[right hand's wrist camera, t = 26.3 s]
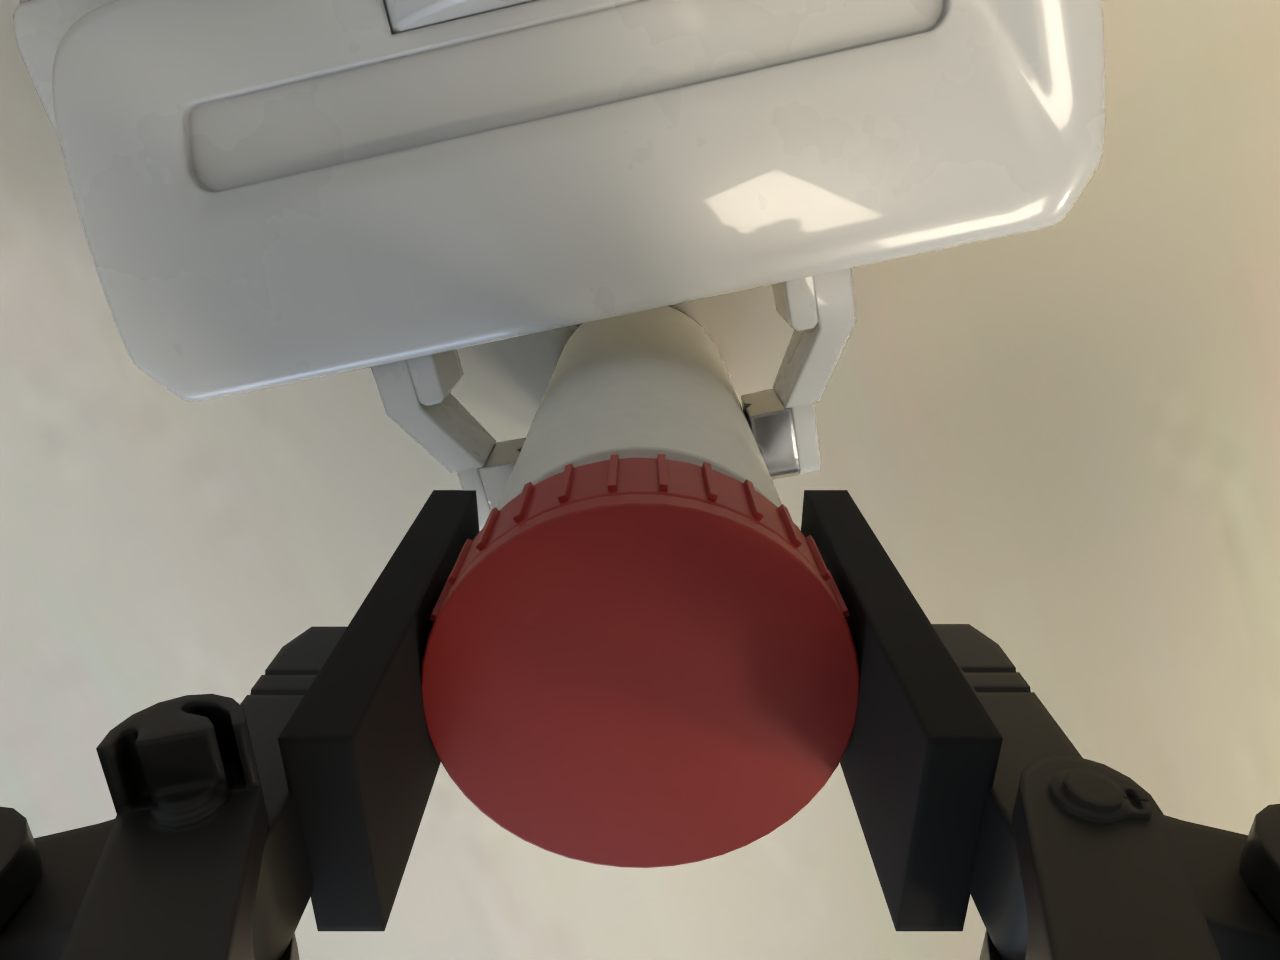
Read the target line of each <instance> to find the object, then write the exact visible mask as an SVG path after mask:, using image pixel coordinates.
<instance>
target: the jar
mask: <svg viewBox="0 0 1280 960" xmlns="http://www.w3.org/2000/svg"><path fill="white" fill-rule="evenodd" d="M614 454H618V456H619V459H624V458H657V455H658V454H665V457H666V459H668V460H674V461H681V462H687V463H691V464H695V465H698V466H702V465H703V463H704V462H706V463H709V464H711V467H712V470H715V471H718V472H720V473H722V474H725V475H727V476H729V477H732V478H734V479H736V480H739V481H740V482H742V483H744V482H745V480H746V479H747V480H749V481H751V482H752V483H753V486H754V489H755V491H757V492H759V493H761V494H762V495H763V496H764V497H766V498H767V499H768V500H770V501H771V502H772V503H773V504H775V505H776V506H777V507H780V506H781V505H782V503H781V501H780V498H779V496H778V494H777V491H776V489H775V486H774V484H773V482H772V479H771V477H770V474H769V472H768V470H767V467H766V465H765V462H764V460H763V457H762V455H761V453H760V450H759V448H758V445H757V443H756V441H755V438H754V436H753V433H752V431H751V429H750V426H749V424H748V421H747V419H746V417H745V414H744V412H743V409H742V407H741V404H740V402H739V400H738V397H737V395H736V392H735V390H734V388H733V385H732V383H731V380H730V378H729V376H728V373H727V371H726V368H725V366H724V364H723V361H722V359H721V356H720V354H719V352H718V350H717V348H716V346H715V344H714V342H713V341H712V339H711V338H710V336H709V335H708V334H707V333H706V332H705V330H704V329H703V328H702V327H701V326H700V325H699V324H698V323H696V322H695V321H694V320H693V319H692V318H690V317H689V316H687V315H685V314H684V313H682V312H680V311H678V310H676V309H674V308H671V307H668V306H664V307H660V308H655V309H650V310H645V311H640V312H635V313H630V314H626V315H621V316H616V317H611V318H606V319H601V320H596V321H592V322H587V323H583V324H582V325H581V326H580V327H578V328H577V329H576V331H575V332H574V333H573V334H572V336H571V337H570V338H569V340H568V341H567V343H566V345H565V346H564V348H563V351H562V353H561V355H560V357H559V360H558V362H557V365H556V367H555V370H554V372H553V374H552V377H551V379H550V382H549V384H548V387H547V389H546V391H545V394H544V396H543V399H542V401H541V403H540V406H539V408H538V411H537V413H536V416H535V418H534V420H533V423H532V425H531V428H530V430H529V433H528V435H527V437H526V440H525V442H524V445H523V447H522V449H521V452H520V454H519V457H518V459H517V462H516V464H515V466H514V469H513V471H512V474H511V476H510V478H509V481H508V483H507V486H506V488H505V491H504V493H503V495H502V498H501V500H500V503H499V505H498V508H497V509H498V510H500V509H502V508H503V507H504V506H505V505H506V504H507V503H508V502H509V501H511V500H512V499H514V498H515V497H517V496H518V495H519V494H521V493H522V490H523V488H524V485H525V484H527V483H528V482H531V483H532V484H533V485H535V484H537V483H539V482H541V481H543V480H545V479H547V478H549V477H551V476H553V475H555V474H558V473H561V472H564V469H565V466H566V465H569V464H573V466H574V468H575V467H578V466H582V465H586V464H591V463H595V462H600V461H604V460H610V456H611V455H614Z"/></svg>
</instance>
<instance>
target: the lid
mask: <svg viewBox="0 0 1280 960" xmlns="http://www.w3.org/2000/svg"><path fill="white" fill-rule="evenodd" d="M849 616H850V614H849V611H848V609H847V607H846V605H845V602H844V600H843V598H842V596H841V594H840V592H839V590H838V587H837V585H836V583H835V581H834V579H833V577H832V574H831V572H830V570H827V567H826V565H825V563H824V561H823V559H822V556H821V554H820V552H819V550H818V548H817V546H816V543H815V541H814V539H813V538H812V536H811V535H809V536H808V537H806V538H805V537H804V535H803V534H802V532H801V531H800V530H799V528H798V527H797V526H796V525H795V524H794V523H793V521H792V519H791V516H790V514H789V512H788V509H787V508H786V507H785V506H784V505H783V504H782V505H781V506H780V507H777V506H776V505H775V504H773V503H772V502H771V501H770V500H768V499H767V498H766V497H764V496H763V495H762V494H761V493H759V492H757V491H755V489H754V486H753V483H752V482H751V481H749V480H747V479H746V480H745V482H744V483H742V482H740V481H739V480H736V479H734V478H732V477H729V476H727V475H725V474H722V473H720V472H718V471H715V470H712V467H711V464H709V463H706V462H704V463H703V465H702V466H698V465H695V464H691V463H687V462H681V461H674V460H668V459H666V457H665V454H658V455H657V458H624V459H619V456H618V454H614V455H611V456H610V460H604V461H600V462H595V463H591V464H586V465H582V466H578V467H575V468H574V466H573V464H569V465H566V466H565V469H564V472H561V473H558V474H555V475H553V476H551V477H549V478H547V479H545V480H543V481H541V482H539V483H537V484H535V485H533V484H532V483H531V482H528V483H527V484H525V485H524V488H523V490H522V493H521V494H519V495H518V496H517V497H515V498H514V499H512V500H511V501H509V502H508V503H507V504H506V505H505V506H504V507H503V508H502V509H500V510H498V509H497V508H496V507H494V508H493V509H492V510H491V511H490V514H489V516H488V518H487V521H486V523H485V525H484V527H483V528H482V530H481V531H480V532H479V533H478V534H477V536H476V537H475V538H474V540H473V541H472V540H470V539H467V540H466V542H465V544H464V546H463V548H462V550H461V552H460V554H459V557H458V559H457V561H456V563H455V565H454V567H453V570H452V572H451V574H450V575H449V577H448V579H447V581H446V583H445V586H444V588H443V590H442V592H441V594H440V596H439V599H438V601H437V603H436V605H435V607H434V609H433V612H432V614H431V616H430V621H434V624H433V626H432V629H431V631H430V634H429V636H428V639H427V644H426V648H425V652H424V656H423V660H422V672H421V689H422V698H423V706H424V714H425V721H426V726H427V730H428V734H429V736H430V739H431V741H432V743H433V746H434V748H435V751H436V753H437V756H438V757H439V759H440V761H441V762H442V764H443V766H444V767H445V769H446V771H447V772H448V774H449V776H450V777H451V778H452V780H453V781H454V782H455V784H456V785H457V786H458V787H459V789H460V790H461V791H462V792H463V794H464V795H465V796H466V797H467V798H468V799H469V800H470V801H471V802H472V803H473V804H474V805H475V806H476V807H477V808H478V809H479V810H480V811H482V812H483V813H484V814H485V815H487V816H488V817H489V818H491V819H492V820H493V821H494V822H496V823H497V824H498V825H500V826H501V827H503V828H504V829H506V830H508V831H509V832H511V833H513V834H514V835H516V836H518V837H519V838H521V839H523V840H525V841H527V842H529V843H531V844H533V845H536V846H538V847H540V848H542V849H544V850H547V851H550V852H553V853H556V854H559V855H562V856H565V857H568V858H571V859H575V860H580V861H584V862H589V863H593V864H599V865H608V866H616V867H635V868H651V867H664V866H675V865H681V864H686V863H692V862H698V861H702V860H705V859H709V858H712V857H716V856H719V855H723V854H726V853H728V852H731V851H733V850H736V849H738V848H741V847H743V846H746V845H748V844H750V843H752V842H754V841H755V840H757V839H759V838H761V837H763V836H765V835H767V834H769V833H770V832H772V831H773V830H775V829H776V828H778V827H779V826H781V825H782V824H784V823H785V822H787V821H788V820H789V819H791V818H792V817H793V816H794V815H795V814H796V813H798V812H799V811H800V810H801V809H802V808H803V807H804V806H806V805H807V804H808V803H809V802H810V801H811V800H812V798H813V797H814V796H815V795H816V794H817V793H818V792H819V791H820V790H821V788H822V787H823V786H824V785H825V784H826V782H827V781H828V779H829V778H830V776H831V775H832V773H833V772H834V770H835V769H836V768H837V766H838V764H839V762H840V760H841V758H842V756H843V754H844V752H845V750H846V748H847V746H848V744H849V741H850V738H851V735H852V732H853V728H854V725H855V718H856V710H857V703H858V694H859V684H860V671H859V664H858V658H857V652H856V647H855V644H854V641H853V638H852V635H851V632H850V629H849V626H848V623H847V621H846V619H845V618H846V617H849Z"/></svg>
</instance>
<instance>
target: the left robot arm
mask: <svg viewBox="0 0 1280 960" xmlns="http://www.w3.org/2000/svg"><path fill="white" fill-rule="evenodd" d="M13 24H14V31H15V36H16V40H17V44H18V47H19V51H20V54H21V56H22V58H23V60H24V63H25V65H26V67H27V70H28V72H29V74H30V77H31V79H32V81H33V83H34V86H35V88H36V90H37V93H38V95H39V97H40V99H41V102H42V104H43V106H44V109H45V111H46V113H47V116H48V118H49V120H50V122H51V123H52V125H53V127H54V129H55V130H56V131H57V133H58V135H59V140H60V144H61V149H62V153H63V157H64V161H65V165H66V169H67V172H68V176H69V180H70V184H71V188H72V192H73V195H74V199H75V202H76V206H77V209H78V213H79V216H80V220H81V223H82V227H83V230H84V233H85V236H86V239H87V242H88V246H89V249H90V252H91V255H92V258H93V261H94V264H95V267H96V270H97V273H98V276H99V279H100V282H101V285H102V288H103V291H104V293H105V296H106V299H107V302H108V305H109V308H110V310H111V313H112V316H113V318H114V321H115V324H116V326H117V329H118V331H119V334H120V336H121V339H122V341H123V343H124V345H125V347H126V350H127V352H128V354H129V356H130V358H131V359H132V361H133V362H134V364H135V365H136V366H137V367H138V368H139V369H140V370H141V371H142V372H144V373H145V374H147V375H148V376H149V377H151V378H152V379H153V380H155V381H156V382H158V383H159V384H160V385H162V386H163V387H164V388H166V389H167V390H169V391H170V392H172V393H173V394H174V395H176V396H178V397H179V398H181V399H182V400H185V401H188V402H201V401H207V400H212V399H217V398H222V397H227V396H232V395H236V394H241V393H246V392H251V391H256V390H261V389H266V388H270V387H275V386H280V385H285V384H290V383H295V382H300V381H304V380H309V379H314V378H319V377H324V376H329V375H334V374H339V373H343V372H348V371H353V370H358V369H363V368H368V367H371V368H372V371H373V374H374V377H375V380H376V383H377V386H378V389H379V392H380V395H381V398H382V401H383V404H384V407H385V410H386V413H387V415H388V416H389V417H390V418H391V419H392V420H393V421H395V422H396V423H397V424H398V425H399V426H400V427H401V428H402V429H403V430H405V431H406V432H407V433H408V434H409V435H410V436H411V437H412V438H413V439H414V440H416V441H417V442H418V443H419V444H420V445H421V446H422V447H423V448H424V449H425V450H427V451H428V452H429V453H430V454H431V455H432V456H433V457H434V458H435V459H437V460H438V461H439V462H440V463H441V464H442V465H443V466H444V467H445V468H446V469H448V470H449V471H450V472H451V473H457V474H458V477H459V480H460V484H461V487H462V490H476V495H477V507H478V519H479V531H481V530H482V528H483V527H484V525H485V523H486V521H487V518H488V516H489V514H490V511H491V510H492V509H493V508H494V507H496V508H498V505H499V503H500V500H501V498H502V495H503V493H504V491H505V488H506V486H507V483H508V481H509V478H510V476H511V474H512V471H513V469H514V466H515V464H516V462H517V459H518V457H519V454H520V452H521V449H522V447H523V445H524V442H525V440H526V438H521V439H516V440H510V441H504V442H498V443H496V441H495V439H494V438H493V437H492V436H491V435H490V434H489V433H488V432H487V431H486V430H485V429H484V428H483V427H482V426H481V425H480V424H479V423H478V422H477V421H476V419H475V418H474V417H473V416H472V415H471V414H470V413H469V412H468V411H467V410H466V409H465V408H464V407H463V406H462V405H461V404H460V403H459V402H458V401H457V399H456V398H455V397H454V396H453V395H452V394H451V393H450V391H451V390H452V389H453V388H454V386H455V385H456V384H457V383H458V382H459V380H460V379H461V378H462V376H463V375H464V373H463V370H462V366H461V363H460V359H459V355H458V352H457V349H460V348H465V347H470V346H475V345H480V344H484V343H489V342H494V341H499V340H504V339H509V338H514V337H519V336H523V335H528V334H533V333H538V332H543V331H548V330H553V329H557V328H562V327H567V326H572V325H577V324H582V323H587V322H592V321H596V320H601V319H606V318H611V317H616V316H621V315H626V314H630V313H635V312H640V311H645V310H650V309H655V308H660V307H664V306H669V305H674V304H679V303H684V302H689V301H694V300H699V299H703V298H708V297H713V296H718V295H723V294H728V293H733V292H737V291H742V290H747V289H752V288H757V287H762V286H767V285H772V286H773V293H774V299H775V305H776V311H777V312H778V313H779V314H780V315H781V316H782V317H783V319H784V320H785V321H786V322H787V323H788V324H789V325H790V326H791V327H792V328H793V329H795V330H794V333H793V335H792V338H791V340H790V343H789V346H788V348H787V351H786V353H785V356H784V359H783V361H782V364H781V366H780V369H779V372H778V374H777V377H776V379H775V382H774V384H773V388H774V389H769V390H765V391H760V392H756V393H751V394H747V395H742V396H741V400H742V406H743V412H744V414H745V417H746V419H747V421H748V424H749V426H750V429H751V431H752V433H753V436H754V438H755V441H756V443H757V445H758V448H759V450H760V453H761V455H762V457H763V460H764V462H765V465H766V467H767V470H768V472H769V474H770V477H771V479H778V478H783V477H789V476H794V475H799V474H805V473H810V472H816V471H819V470H820V467H821V458H820V450H819V442H818V435H817V427H816V419H815V411H814V403H817V402H819V401H820V399H821V397H822V395H823V392H824V390H825V388H826V386H827V384H828V382H829V379H830V377H831V375H832V373H833V371H834V368H835V366H836V364H837V362H838V360H839V358H840V355H841V353H842V351H843V349H844V347H845V344H846V342H847V340H848V338H849V336H850V334H851V331H852V329H853V327H854V325H855V323H856V315H855V305H854V294H853V284H852V274H851V268H854V267H859V266H864V265H869V264H874V263H879V262H883V261H888V260H893V259H898V258H903V257H908V256H913V255H917V254H922V253H927V252H932V251H937V250H942V249H947V248H952V247H956V246H961V245H966V244H971V243H976V242H981V241H986V240H990V239H995V238H1000V237H1005V236H1010V235H1015V234H1020V233H1024V232H1029V231H1034V230H1039V229H1044V228H1048V227H1051V226H1054V225H1056V224H1058V223H1059V222H1061V221H1062V220H1063V219H1064V218H1065V217H1066V215H1067V214H1068V213H1069V211H1070V210H1071V209H1072V207H1073V206H1074V204H1075V203H1076V201H1077V200H1078V198H1079V197H1080V195H1081V194H1082V192H1083V190H1084V189H1085V187H1086V186H1087V184H1088V182H1089V181H1090V179H1091V178H1092V176H1093V174H1094V173H1095V171H1096V170H1097V168H1098V166H1099V163H1100V160H1101V157H1102V152H1103V145H1104V139H1105V119H1106V75H1105V40H1104V18H1103V4H1102V0H20V4H19V5H18V7H17V8H16V9H15V11H14V14H13Z"/></svg>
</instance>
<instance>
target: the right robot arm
mask: <svg viewBox="0 0 1280 960" xmlns="http://www.w3.org/2000/svg"><path fill="white" fill-rule="evenodd" d="M479 532H480V531H479V519H478V507H477V495H476V490H434V491H433V492H432V494H431V495H430V497H429V498H428V500H427V502H426V503H425V505H424V506H423V508H422V510H421V511H420V513H419V514H418V516H417V518H416V519H415V521H414V522H413V524H412V525H411V527H410V529H409V530H408V532H407V533H406V535H405V537H404V538H403V540H402V541H401V543H400V545H399V546H398V548H397V549H396V551H395V552H394V554H393V556H392V557H391V559H390V560H389V562H388V564H387V565H386V567H385V568H384V570H383V572H382V573H381V575H380V576H379V578H378V579H377V581H376V583H375V584H374V586H373V587H372V589H371V591H370V592H369V594H368V595H367V597H366V599H365V600H364V602H363V603H362V605H361V606H360V608H359V610H358V611H357V613H356V614H355V616H354V618H353V619H352V621H351V622H350V624H349V626H348V627H311V628H309V629H308V630H306V631H305V632H304V633H302V634H301V635H299V636H298V637H296V638H295V639H293V640H292V641H291V642H289V643H288V644H286V645H285V646H283V647H282V649H281V650H280V651H279V653H278V654H277V655H276V657H275V658H274V659H273V661H272V662H271V664H270V665H269V666H268V668H267V669H266V670H265V675H262V676H261V677H260V678H259V680H258V681H257V682H256V684H255V685H254V687H253V688H252V689H251V695H247V696H246V697H245V699H244V700H243V701H242V703H241V704H240V705H239V704H238V703H237V702H236V701H235V700H234V699H232V698H229V697H224V696H219V695H215V694H202V695H187V696H183V697H179V698H175V699H171V700H167V701H164V702H160V703H157V704H155V705H153V706H151V707H149V708H146V709H144V710H142V711H140V712H138V713H135V714H133V715H131V716H130V717H129V718H127V719H126V720H125V721H123V722H122V723H120V724H119V725H118V726H116V727H115V728H113V729H112V730H111V731H110V732H109V733H108V734H107V735H106V737H105V738H104V739H103V741H102V742H101V743H100V744H99V746H98V747H97V748H96V749H97V753H98V756H99V759H100V762H101V765H102V768H103V772H104V775H105V778H106V781H107V784H108V787H109V790H110V794H111V797H112V800H113V803H114V806H115V809H116V813H117V816H116V819H113V820H110V821H106V822H103V823H100V824H95V825H91V826H87V827H82V828H78V829H74V830H69V831H65V832H61V833H56V834H52V835H47V836H43V837H39V838H34V839H33V836H32V833H31V831H30V828H29V825H28V823H27V820H26V818H25V817H24V816H22V815H21V814H20V813H18V812H17V811H16V810H15V809H13V808H6V807H0V960H299V954H298V947H297V942H296V938H295V933H294V932H295V930H296V928H297V925H298V923H299V921H300V919H301V916H302V914H303V912H304V910H305V908H306V905H307V903H308V901H309V899H310V896H311V900H312V905H313V910H314V914H315V919H316V924H317V929H318V931H385V928H386V925H387V922H388V919H389V916H390V913H391V910H392V907H393V904H394V901H395V898H396V895H397V892H398V889H399V886H400V883H401V880H402V877H403V874H404V870H405V867H406V864H407V861H408V858H409V855H410V852H411V849H412V846H413V843H414V840H415V837H416V834H417V831H418V828H419V825H420V822H421V819H422V816H423V813H424V810H425V807H426V804H427V801H428V798H429V795H430V792H431V789H432V786H433V783H434V780H435V777H436V774H437V771H438V768H439V765H440V762H441V761H440V759H439V757H438V756H437V753H436V751H435V748H434V746H433V743H432V741H431V739H430V736H429V734H428V730H427V726H426V721H425V714H424V706H423V698H422V689H421V672H422V660H423V656H424V652H425V648H426V644H427V639H428V636H429V634H430V631H431V629H432V626H433V624H434V621H430V616H431V614H432V612H433V609H434V607H435V605H436V603H437V601H438V599H439V596H440V594H441V592H442V590H443V588H444V586H445V583H446V581H447V579H448V577H449V575H450V574H451V572H452V570H453V567H454V565H455V563H456V561H457V559H458V557H459V554H460V552H461V550H462V548H463V546H464V544H465V542H466V540H467V539H470V540H472V541H473V540H474V538H475V537H476V536H477V534H478V533H479ZM801 532H802V534H803V535H804V537H805V538H806V537H808V536H809V535H811V536H812V538H813V539H814V541H815V543H816V546H817V548H818V550H819V552H820V554H821V556H822V559H823V561H824V563H825V565H826V567H827V570H830V572H831V574H832V577H833V579H834V581H835V583H836V585H837V587H838V590H839V592H840V594H841V596H842V598H843V600H844V602H845V605H846V607H847V609H848V611H849V614H850V616H849V617H846V618H845V619H846V621H847V623H848V626H849V629H850V632H851V635H852V638H853V641H854V644H855V647H856V652H857V658H858V664H859V671H860V684H859V694H858V703H857V710H856V718H855V725H854V728H853V732H852V735H851V738H850V741H849V744H848V746H847V748H846V750H845V752H844V754H843V756H842V758H841V760H840V764H841V767H842V770H843V773H844V776H845V779H846V782H847V785H848V788H849V791H850V794H851V797H852V800H853V803H854V806H855V809H856V812H857V815H858V818H859V821H860V824H861V827H862V830H863V833H864V836H865V839H866V842H867V845H868V848H869V851H870V854H871V857H872V860H873V863H874V866H875V869H876V872H877V875H878V878H879V881H880V884H881V887H882V890H883V893H884V896H885V899H886V902H887V905H888V908H889V911H890V914H891V917H892V920H893V923H894V926H895V929H896V931H963V926H964V921H965V917H966V912H967V907H968V902H969V898H970V894H971V896H972V898H973V900H974V902H975V905H976V907H977V909H978V911H979V913H980V916H981V918H982V920H983V922H984V925H985V927H986V933H985V938H984V942H983V947H982V951H981V956H980V960H1280V804H1274V805H1268V806H1267V807H1266V808H1264V809H1263V810H1262V811H1260V812H1259V813H1258V814H1257V815H1256V816H1255V819H1254V822H1253V824H1252V827H1251V830H1250V833H1249V835H1243V834H1239V833H1235V832H1230V831H1226V830H1221V829H1217V828H1213V827H1208V826H1204V825H1199V824H1195V823H1191V822H1186V821H1182V820H1179V819H1175V818H1172V817H1169V816H1165V815H1163V813H1162V811H1161V810H1160V808H1159V807H1158V805H1157V804H1156V802H1155V801H1154V799H1153V798H1152V796H1151V795H1150V794H1149V793H1148V792H1146V791H1145V790H1144V789H1143V788H1141V787H1140V786H1139V785H1138V784H1137V783H1135V782H1134V781H1133V780H1132V779H1131V778H1129V777H1127V776H1125V775H1123V774H1121V773H1120V772H1118V771H1116V770H1114V769H1112V768H1110V767H1108V766H1106V765H1104V764H1101V763H1097V762H1094V761H1090V760H1087V759H1084V758H1082V756H1081V755H1080V754H1079V752H1078V751H1077V750H1076V748H1075V747H1074V746H1073V744H1072V743H1071V742H1070V740H1069V739H1068V738H1067V736H1066V735H1065V734H1064V732H1063V731H1062V730H1061V728H1060V727H1059V726H1058V724H1057V723H1056V721H1055V720H1054V719H1053V717H1052V716H1051V715H1050V713H1049V712H1048V711H1047V709H1046V708H1045V707H1044V705H1043V704H1042V703H1041V701H1040V700H1039V699H1038V697H1037V696H1036V695H1035V693H1034V692H1030V686H1029V685H1028V684H1027V682H1026V681H1025V680H1024V678H1023V677H1022V676H1021V674H1020V673H1016V668H1015V666H1014V665H1013V664H1012V662H1011V661H1010V660H1009V658H1008V657H1007V655H1006V654H1005V653H1004V651H1003V650H1002V649H1001V647H1000V646H999V645H998V644H997V643H995V642H994V641H993V640H991V639H990V638H988V637H987V636H985V635H984V634H982V633H981V632H979V631H978V630H977V629H975V628H974V627H972V626H971V625H969V624H931V623H930V622H929V620H928V618H927V617H926V615H925V614H924V612H923V610H922V609H921V607H920V606H919V604H918V603H917V601H916V599H915V598H914V596H913V595H912V593H911V591H910V590H909V588H908V587H907V585H906V583H905V582H904V580H903V579H902V577H901V576H900V574H899V572H898V571H897V569H896V568H895V566H894V564H893V563H892V561H891V560H890V558H889V556H888V555H887V553H886V552H885V550H884V549H883V547H882V545H881V544H880V542H879V541H878V539H877V537H876V536H875V534H874V533H873V531H872V529H871V528H870V526H869V525H868V523H867V522H866V520H865V518H864V517H863V515H862V514H861V512H860V510H859V509H858V507H857V506H856V504H855V502H854V501H853V499H852V498H851V496H850V495H849V493H848V491H847V490H804V501H803V513H802V525H801Z"/></svg>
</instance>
